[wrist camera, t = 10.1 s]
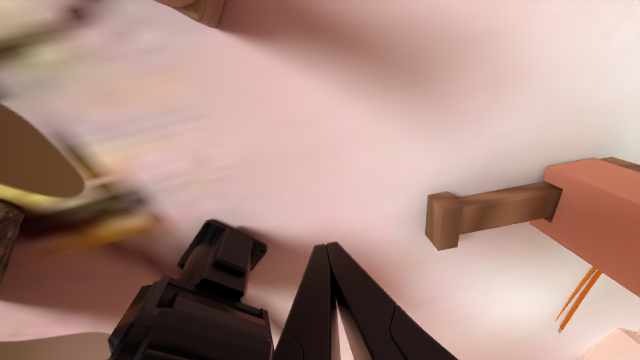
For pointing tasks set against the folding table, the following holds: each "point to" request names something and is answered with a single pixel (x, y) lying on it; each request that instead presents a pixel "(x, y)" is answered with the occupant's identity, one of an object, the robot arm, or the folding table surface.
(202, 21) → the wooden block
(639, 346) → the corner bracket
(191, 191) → the folding table surface
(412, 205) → the folding table surface
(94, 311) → the folding table surface
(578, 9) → the folding table surface
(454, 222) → the rail
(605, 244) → the block
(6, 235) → the stone block
